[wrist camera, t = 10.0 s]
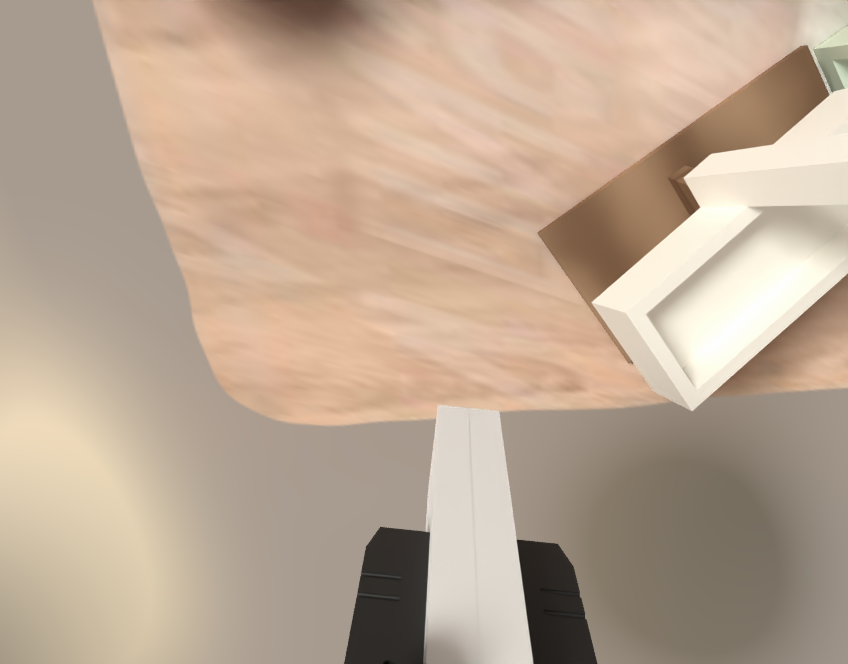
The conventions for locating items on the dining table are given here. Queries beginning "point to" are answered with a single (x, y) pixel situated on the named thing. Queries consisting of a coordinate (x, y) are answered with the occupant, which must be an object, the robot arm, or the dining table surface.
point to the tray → (835, 59)
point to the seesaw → (738, 259)
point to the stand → (675, 178)
